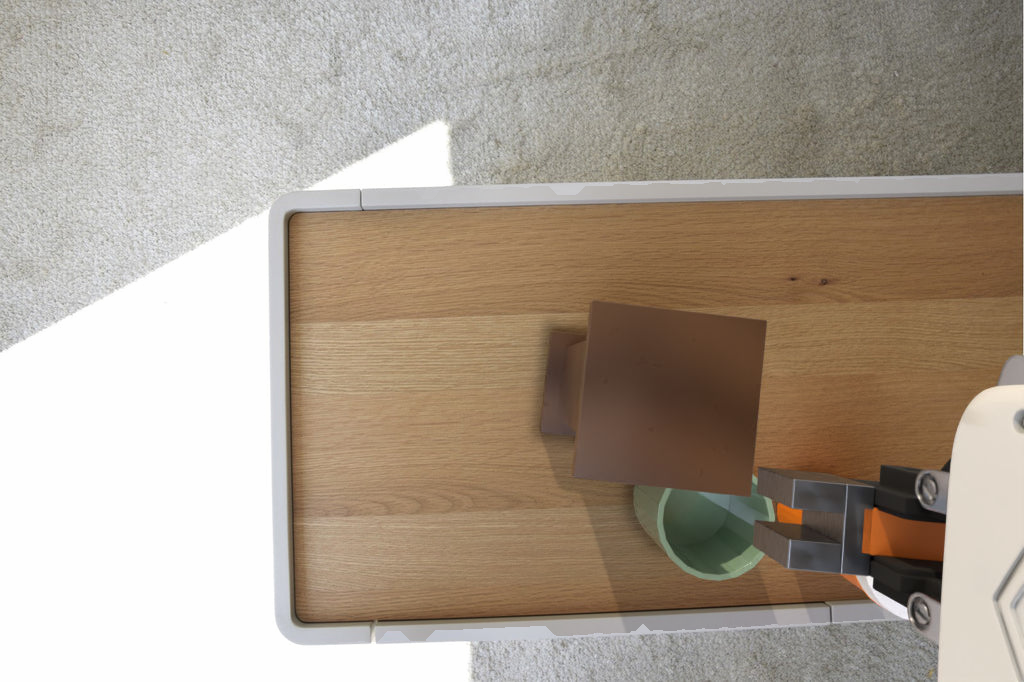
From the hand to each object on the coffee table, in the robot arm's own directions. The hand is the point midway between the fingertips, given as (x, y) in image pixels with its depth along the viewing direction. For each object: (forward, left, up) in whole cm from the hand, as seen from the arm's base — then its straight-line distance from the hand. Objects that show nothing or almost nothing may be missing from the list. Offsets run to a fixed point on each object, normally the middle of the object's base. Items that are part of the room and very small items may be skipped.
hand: (880, 521), depth 24 cm
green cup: (-6, -5, -41) cm, 42 cm away
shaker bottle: (-6, -18, -42) cm, 46 cm away
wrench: (0, +1, -1) cm, 1 cm away
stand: (+4, +5, -41) cm, 42 cm away
